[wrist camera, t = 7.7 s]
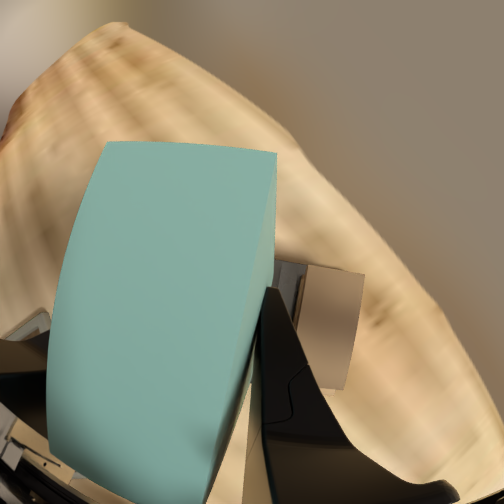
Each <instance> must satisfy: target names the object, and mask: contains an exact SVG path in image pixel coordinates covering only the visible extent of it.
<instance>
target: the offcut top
mask: <svg viewBox="0 0 504 504" xmlns="http://www.w3.org/2000/svg"><path fill="white" fill-rule="evenodd" d="M364 278H365V274H359V273H354V272H348V271H342V270H337V269H331V268H326V267H320V266H315V265H308V266H307V267H306V271H305V277H304V283H303V289H302V294H301V300H300V306H299V311H298V316H297V322H296V327H295V330H296V332H297V335H298V337H299V340H300V342H301V345H302V347H303V350H304V352H305V355H306V357H307V360H308V362H309V364H308V365H310V367H311V370H312V372H313V375H314V377H315V379H316V382H317V384H318V386H319V388H325V389H335V390H343V389H344V386H345V382H346V377H347V373H348V369H349V365H350V360H351V356H352V351H353V346H354V341H355V336H356V330H357V325H358V319H359V313H360V307H361V300H362V293H363V286H364Z"/></svg>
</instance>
